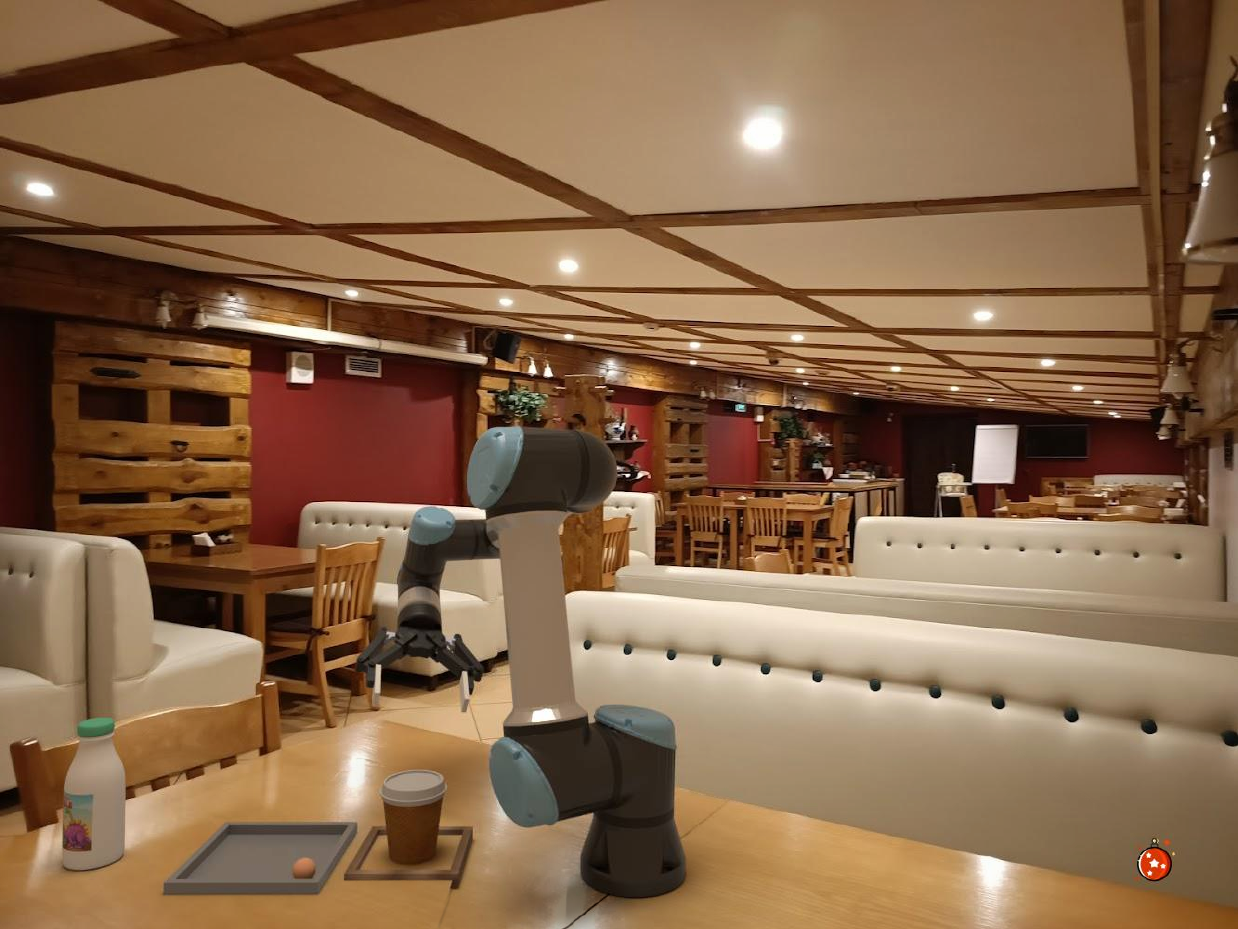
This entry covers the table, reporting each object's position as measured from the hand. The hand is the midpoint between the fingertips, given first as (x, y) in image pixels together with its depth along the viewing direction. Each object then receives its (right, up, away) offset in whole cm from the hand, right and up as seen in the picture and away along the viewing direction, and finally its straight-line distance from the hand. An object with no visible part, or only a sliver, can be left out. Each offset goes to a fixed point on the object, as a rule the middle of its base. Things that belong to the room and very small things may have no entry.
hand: (421, 703), depth 131 cm
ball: (-13, -20, -15) cm, 28 cm away
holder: (0, -21, -7) cm, 22 cm away
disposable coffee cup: (0, -22, -7) cm, 23 cm away
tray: (-20, -21, -9) cm, 30 cm away
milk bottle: (-46, -21, -7) cm, 51 cm away
